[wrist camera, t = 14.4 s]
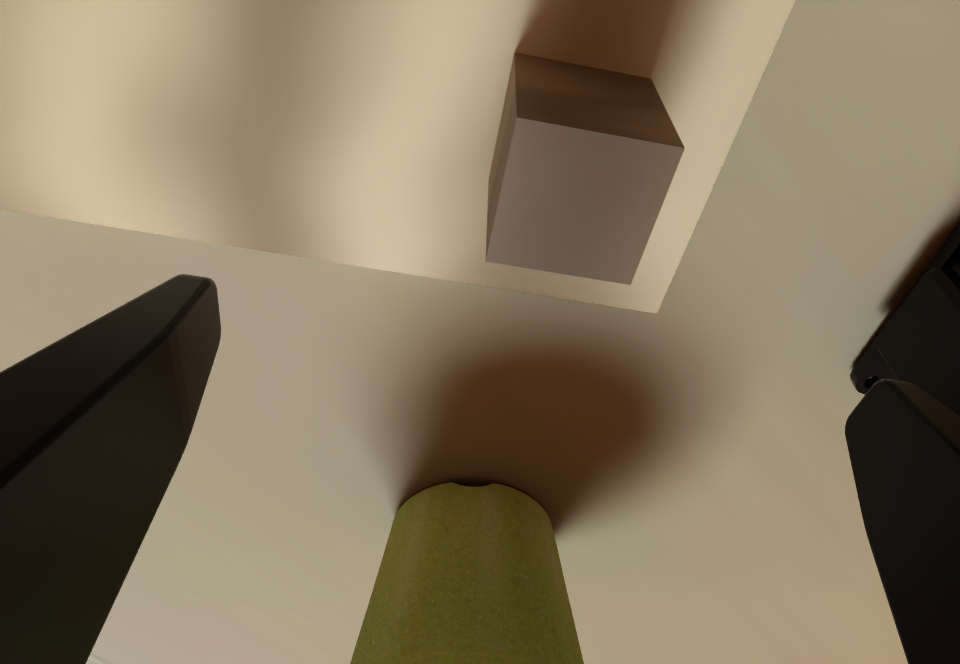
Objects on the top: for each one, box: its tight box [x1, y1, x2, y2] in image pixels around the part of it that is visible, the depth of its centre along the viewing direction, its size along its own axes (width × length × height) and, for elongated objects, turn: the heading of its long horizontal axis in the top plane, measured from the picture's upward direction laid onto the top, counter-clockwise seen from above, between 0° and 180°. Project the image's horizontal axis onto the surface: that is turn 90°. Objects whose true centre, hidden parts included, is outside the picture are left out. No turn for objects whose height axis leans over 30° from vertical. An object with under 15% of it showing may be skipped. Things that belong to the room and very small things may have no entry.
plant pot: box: [350, 482, 584, 664], centre depth 22 cm, size 9×9×9 cm
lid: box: [0, 0, 795, 314], centre depth 14 cm, size 20×9×4 cm, turn 80°
